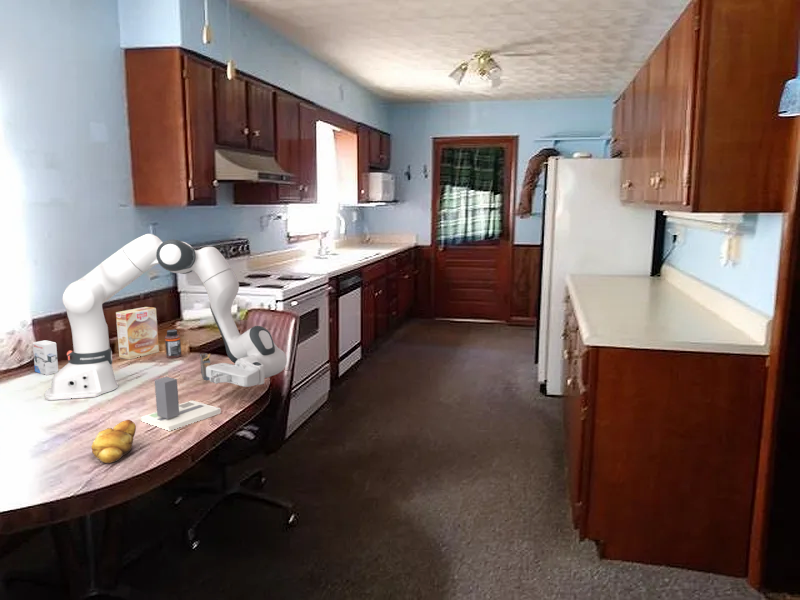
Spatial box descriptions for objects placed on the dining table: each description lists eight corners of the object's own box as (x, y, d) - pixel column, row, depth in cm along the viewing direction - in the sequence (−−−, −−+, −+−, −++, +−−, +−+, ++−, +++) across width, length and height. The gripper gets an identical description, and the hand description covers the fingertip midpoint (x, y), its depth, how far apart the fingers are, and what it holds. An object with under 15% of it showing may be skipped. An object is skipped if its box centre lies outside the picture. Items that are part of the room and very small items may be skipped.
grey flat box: (212, 380, 222) (211, 355, 220) (203, 381, 221) (202, 355, 219) (209, 372, 232) (208, 348, 230) (201, 373, 231) (199, 348, 229)
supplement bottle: (167, 355, 256) (165, 329, 255) (182, 354, 258) (180, 328, 256) (165, 359, 251) (163, 332, 249) (180, 358, 252) (178, 331, 250)
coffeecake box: (129, 360, 250) (125, 313, 247) (118, 357, 253) (114, 311, 250) (160, 351, 263) (156, 307, 260) (149, 349, 266) (145, 306, 263)
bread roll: (122, 465, 151) (119, 435, 150) (82, 467, 150) (79, 436, 149) (140, 445, 164) (137, 416, 162) (102, 446, 163) (100, 418, 161)
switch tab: (167, 419, 177) (164, 382, 175) (157, 415, 180) (154, 379, 178) (179, 415, 180) (176, 379, 178) (169, 411, 183) (166, 376, 181)
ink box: (34, 372, 233) (31, 342, 231) (47, 369, 238) (44, 339, 236) (46, 375, 229) (43, 345, 227) (59, 372, 233) (56, 342, 231)
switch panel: (169, 431, 172) (169, 426, 172) (141, 421, 180) (140, 416, 180) (220, 413, 187) (220, 408, 187) (192, 404, 195) (192, 399, 195)
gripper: (225, 356, 209) (191, 365, 198) (267, 365, 197) (233, 376, 186) (226, 374, 210) (192, 384, 199) (267, 384, 198) (234, 395, 187)
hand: (212, 380), depth 192 cm, fingers closed
